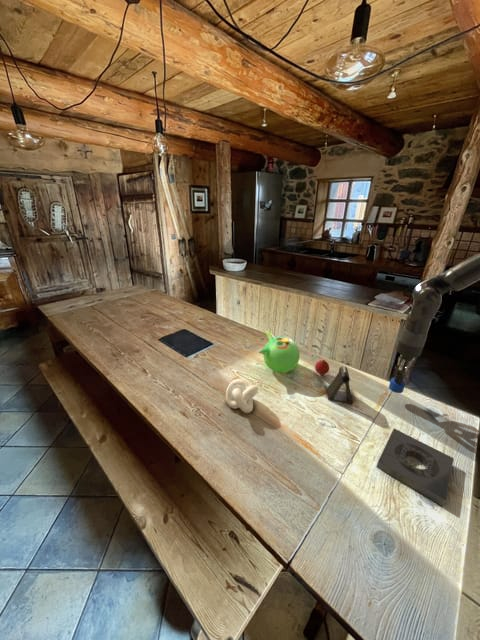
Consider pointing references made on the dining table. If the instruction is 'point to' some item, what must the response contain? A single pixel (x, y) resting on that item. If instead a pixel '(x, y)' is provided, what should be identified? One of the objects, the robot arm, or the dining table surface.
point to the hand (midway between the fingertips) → (398, 380)
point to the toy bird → (280, 353)
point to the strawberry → (322, 367)
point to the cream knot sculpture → (240, 395)
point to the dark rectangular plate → (422, 480)
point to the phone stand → (335, 386)
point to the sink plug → (396, 386)
